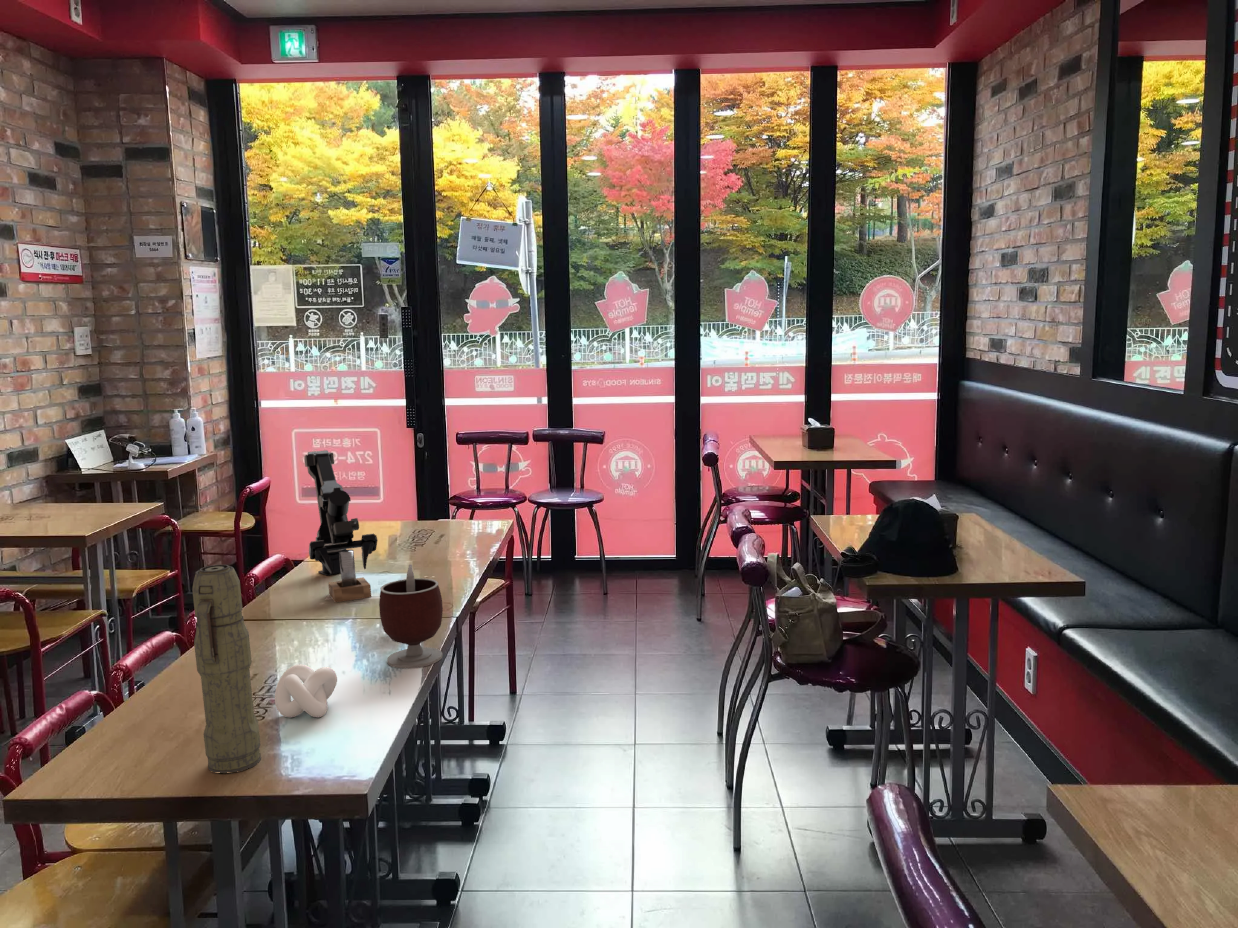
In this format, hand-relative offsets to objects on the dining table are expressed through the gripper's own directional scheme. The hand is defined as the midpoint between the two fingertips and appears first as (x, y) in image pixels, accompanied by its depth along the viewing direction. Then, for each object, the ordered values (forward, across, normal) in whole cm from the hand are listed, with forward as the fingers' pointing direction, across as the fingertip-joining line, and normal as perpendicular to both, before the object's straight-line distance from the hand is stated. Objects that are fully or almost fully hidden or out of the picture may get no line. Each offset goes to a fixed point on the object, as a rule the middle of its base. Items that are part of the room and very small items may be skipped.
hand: (348, 570), depth 275 cm
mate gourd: (+50, +3, -39) cm, 63 cm away
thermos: (+77, -38, -66) cm, 108 cm away
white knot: (+65, -23, -54) cm, 88 cm away
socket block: (+4, 0, +6) cm, 8 cm away
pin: (+4, 0, +6) cm, 8 cm away
